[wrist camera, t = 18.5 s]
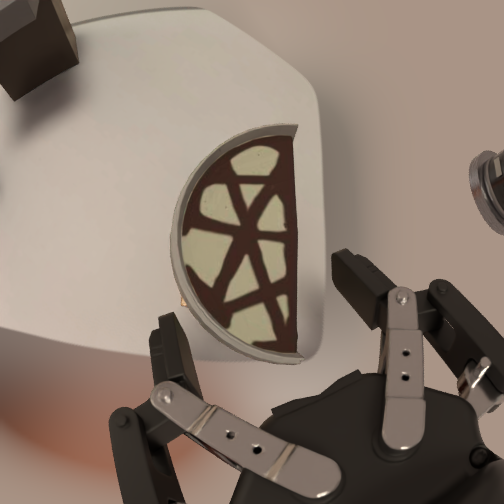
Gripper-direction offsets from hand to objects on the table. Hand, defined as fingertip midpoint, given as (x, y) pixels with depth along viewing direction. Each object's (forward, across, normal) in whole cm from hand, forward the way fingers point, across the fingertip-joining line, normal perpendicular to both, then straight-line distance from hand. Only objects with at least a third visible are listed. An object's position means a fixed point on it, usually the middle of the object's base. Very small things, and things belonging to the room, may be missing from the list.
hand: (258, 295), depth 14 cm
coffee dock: (+29, +15, -16) cm, 37 cm away
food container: (+8, 0, +4) cm, 9 cm away
